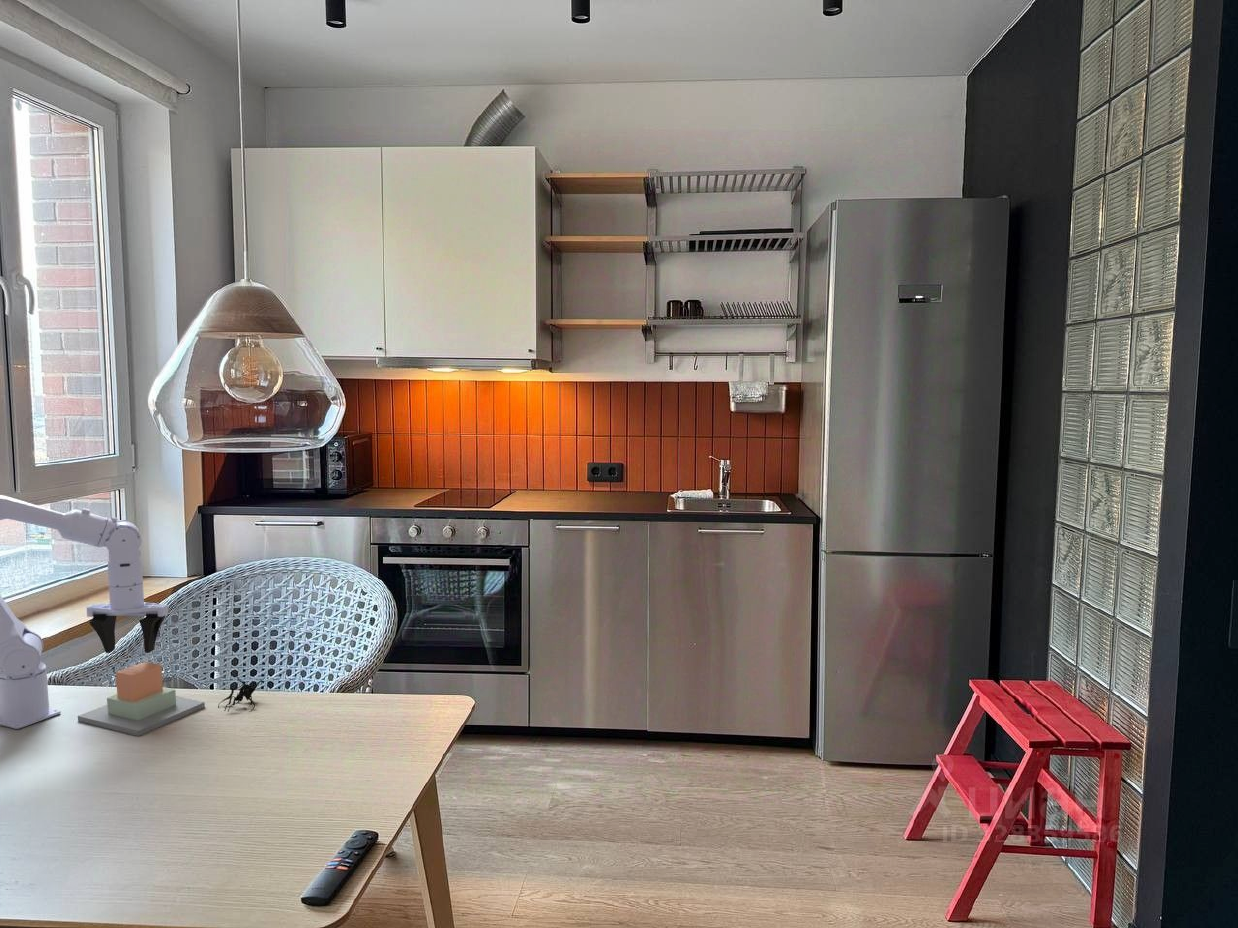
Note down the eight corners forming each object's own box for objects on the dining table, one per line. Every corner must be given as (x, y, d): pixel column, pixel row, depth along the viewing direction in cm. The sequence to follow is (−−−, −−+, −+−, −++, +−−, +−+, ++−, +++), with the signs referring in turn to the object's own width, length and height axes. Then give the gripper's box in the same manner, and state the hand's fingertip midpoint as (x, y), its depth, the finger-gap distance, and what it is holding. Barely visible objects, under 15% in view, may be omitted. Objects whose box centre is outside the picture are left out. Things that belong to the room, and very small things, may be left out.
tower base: (78, 720, 153) (76, 700, 152) (146, 694, 166) (145, 675, 165) (138, 735, 147) (137, 714, 146) (204, 706, 159) (203, 687, 159)
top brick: (117, 697, 154) (115, 671, 153) (146, 686, 159) (145, 661, 158) (133, 701, 152) (132, 675, 151) (162, 690, 157) (161, 664, 157)
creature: (245, 721, 156) (271, 697, 163) (240, 697, 154) (266, 673, 162) (210, 717, 158) (237, 693, 165) (204, 693, 156) (232, 670, 163)
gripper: (75, 589, 156) (79, 658, 157) (152, 588, 156) (156, 657, 158) (97, 579, 163) (101, 646, 164) (171, 579, 164) (175, 645, 165)
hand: (130, 651), depth 162 cm, fingers open, 7 cm apart
